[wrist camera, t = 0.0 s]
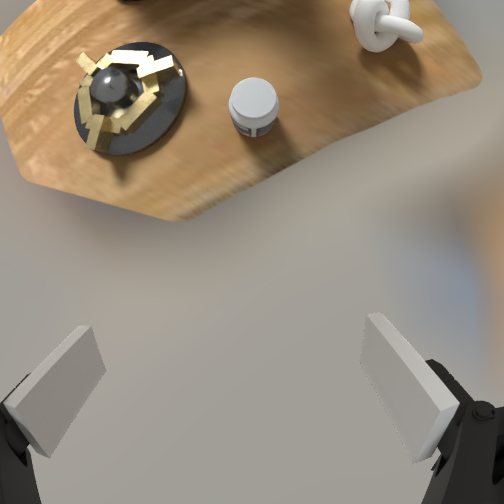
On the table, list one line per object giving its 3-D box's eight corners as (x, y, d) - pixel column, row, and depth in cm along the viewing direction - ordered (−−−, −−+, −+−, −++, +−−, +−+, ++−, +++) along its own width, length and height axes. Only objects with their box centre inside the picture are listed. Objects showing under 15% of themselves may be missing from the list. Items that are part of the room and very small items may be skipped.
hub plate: (82, 63, 32) (77, 60, 31) (185, 35, 32) (183, 30, 31) (79, 165, 37) (73, 165, 35) (188, 145, 36) (186, 143, 35)
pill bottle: (273, 97, 35) (280, 72, 25) (276, 136, 36) (285, 121, 27) (230, 100, 35) (224, 75, 25) (233, 139, 36) (228, 125, 27)
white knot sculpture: (327, 0, 30) (341, -30, 22) (390, 5, 30) (411, -18, 21) (348, 55, 33) (369, 29, 24) (412, 57, 33) (440, 38, 24)
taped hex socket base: (95, 56, 31) (81, 46, 26) (186, 63, 32) (179, 49, 28) (65, 144, 34) (48, 142, 30) (154, 161, 35) (142, 159, 31)
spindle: (114, 87, 34) (91, 72, 27) (142, 80, 34) (122, 62, 27) (114, 114, 35) (89, 103, 28) (142, 108, 35) (120, 94, 28)
